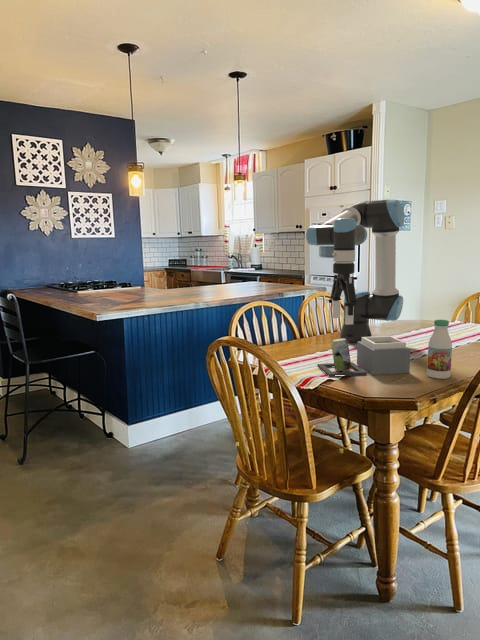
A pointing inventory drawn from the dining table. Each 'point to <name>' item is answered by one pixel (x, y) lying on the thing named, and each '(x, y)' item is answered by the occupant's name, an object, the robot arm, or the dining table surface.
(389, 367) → the tray
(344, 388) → the dining table surface
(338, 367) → the beverage can
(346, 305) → the robot arm
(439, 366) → the milk bottle
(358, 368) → the gray square frame
